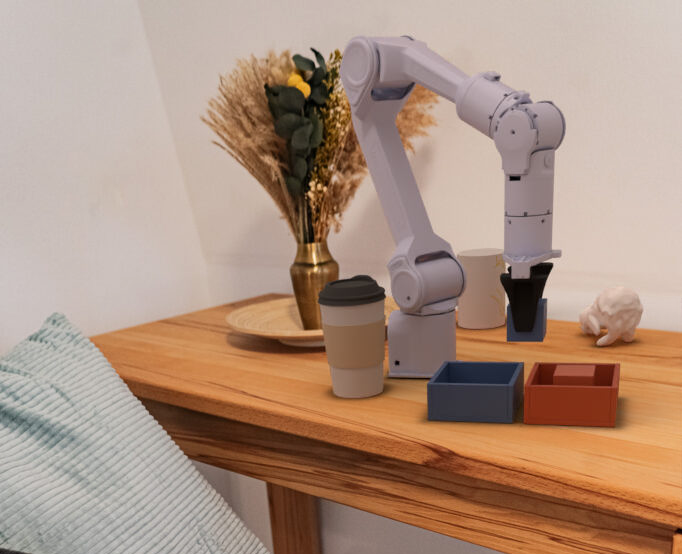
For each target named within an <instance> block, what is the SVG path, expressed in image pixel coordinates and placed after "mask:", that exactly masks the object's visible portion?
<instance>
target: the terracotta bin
mask: <svg viewBox="0 0 682 554" xmlns="http://www.w3.org/2000/svg"><path fill="white" fill-rule="evenodd" d="M557 365H595V366H596V369H595V386H565V385H553V375H554V372H555V370H556V367H557ZM620 374H621V362H616V363H615V362H555V361H553V362H552V361H550V362H549V361H547V362H546V361H545V362H543V361H535V362H534V363H533V366H532V368H531V371H530V373H529V375H528V377H527V379H526V382H525V383H524V397H523V424H525V425H547V426H550V425H551V426H574V427H575V426H577V427H578V426H579V427H606V428H614V427H616V419H617V411H618V402H619V392H620V378H621V377H620V376H621V375H620Z"/></svg>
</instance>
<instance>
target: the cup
mask: <svg viewBox="0 0 682 554" xmlns="http://www.w3.org/2000/svg"><path fill="white" fill-rule="evenodd" d="M503 252H504V248H487V247H485V248H473V249H466V250H461V251H458V252H457V253H456V257H457V258H458V260H459V261H460V262H461V263H462V264H463V266H464V268H465V271H466V276H467V284H466V289H465V291H464V293H463V295H462V296H461V297H460V298H458V302H459V305H458V306H457V326H458V327H460V328H463V329H470V330H487V329H493V328H498V327H501V326H504V325H506V292H505V290H504V288H503V286H502V284H501V281H500V275H501V274H502V273H507V272H506V270H507V269H506V266H507V265H506V264H507V262H505V261H504V260H503V259H502V253H503Z"/></svg>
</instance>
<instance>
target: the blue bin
mask: <svg viewBox="0 0 682 554" xmlns="http://www.w3.org/2000/svg"><path fill="white" fill-rule="evenodd" d="M524 386H525V361H480V360H479V361H469V360H468V361H467V360H462V361H445V362H444V363H443V364H442V365H441V367H440V368H439V369H438V370H437V372H436V373H435V374H434V376H433V377H432V378H429V381H428V382H427V383H426V401H427V402H426V403H427V404H426V407H427V421H438V422H439V421H440V422H467V423H493V424H513V423H514V420H515V418H516V416H517V414H518V411H519V409H520V407H521V404H522V402H523V401H524Z"/></svg>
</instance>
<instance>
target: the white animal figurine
mask: <svg viewBox="0 0 682 554" xmlns="http://www.w3.org/2000/svg"><path fill="white" fill-rule="evenodd" d="M643 312H644V305H643V304H642V303H641V298H640V297H639V294H638V293H637V292H636V291H635V290H632V289H631V288H629V287H627V286H625V285H617V286H609V287H606V288H605V289H604V290H603V291H601V293H599V294H598V295H597V296H596V298H595V300H594V301H593V302H592V304H590V305H589V304H588V305H587V306H586V307H584V308H583V310H582V311H581V312H580V313H579V324H580V325H579V326H578V327H579V329H580V330H581V331H582V332H583V334H587V335H595V336H599V335H600V333H601V332H604V331H603V330H607V334H605V335H604V336H602V337H600V338H599V339H598V340H597V341H596V345H597V346H598V347H606V346H609V345H612V344H613V343H614V342H615V341H616V340H617V339H619V337H620V338H621V340H622V341H623V342H625V343H631V342H633V340H634V336H635V334H636V329H637V327H638V326H639V325H640V322H641V320H642V314H643Z"/></svg>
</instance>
